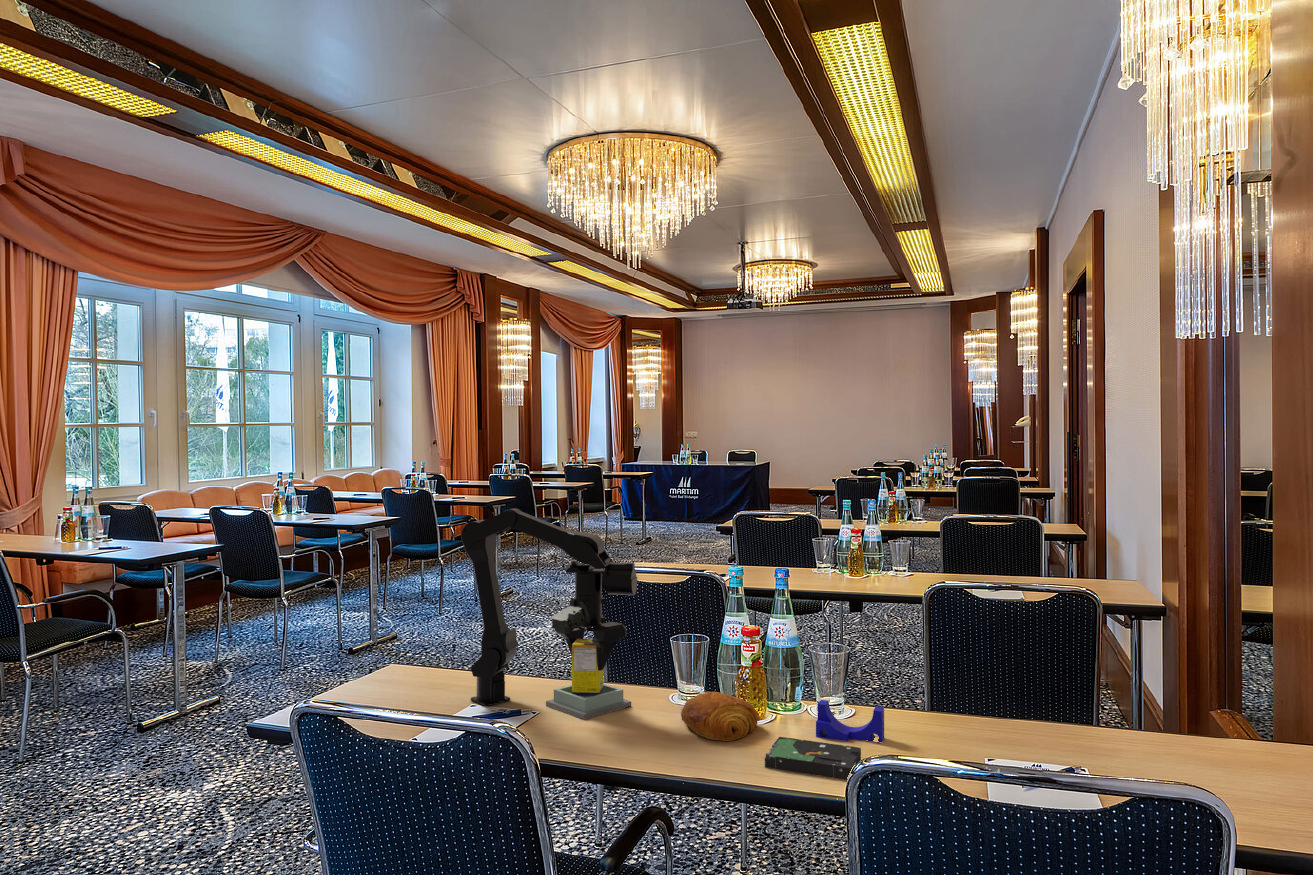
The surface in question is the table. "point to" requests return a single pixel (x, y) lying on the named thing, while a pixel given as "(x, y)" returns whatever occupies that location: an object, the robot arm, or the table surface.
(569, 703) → the socket holder
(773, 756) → the disk drive
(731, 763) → the table surface
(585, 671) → the supplement box
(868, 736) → the blue u-shaped cradle
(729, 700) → the croissant
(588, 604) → the robot arm
